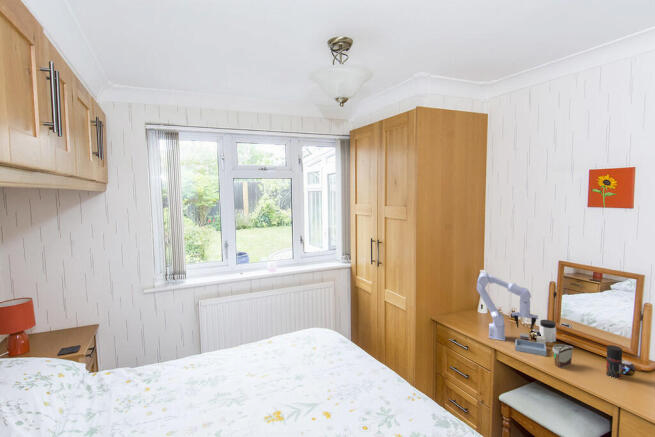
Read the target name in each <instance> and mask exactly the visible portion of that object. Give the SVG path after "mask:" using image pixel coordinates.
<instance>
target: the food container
mask: <svg viewBox="0 0 655 437" xmlns="http://www.w3.org/2000/svg"><path fill="white" fill-rule="evenodd" d="M551 351H552V352H553V356H554V365H555V367H557V368H559V369H561V368H565V367H568V366H570V365H572V360H573V359H572V357H573V351H574V347H573V346H571V345H567V344H562V343H561V344H559V343H558V344H554V345H553V347H552V350H551Z"/></svg>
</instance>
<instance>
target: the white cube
mask: <svg viewBox="0 0 655 437" xmlns="http://www.w3.org/2000/svg"><path fill="white" fill-rule="evenodd" d="M536 342H538V343H544V344H545V345H546V342H545V337H543V336H539V335H536Z"/></svg>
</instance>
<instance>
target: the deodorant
mask: <svg viewBox="0 0 655 437" xmlns="http://www.w3.org/2000/svg"><path fill="white" fill-rule="evenodd" d="M622 364H623V349H622V347H620V346H617V345H611V344H610V345H607V346H606V370H605V371H606V375H607V377H610V376H611V377H610V378H612V377H615V378H614V379H616V378H620V377H621V378H622V372H623V371H622V368H623V366H622ZM621 378H620V379H621Z"/></svg>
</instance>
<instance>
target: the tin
mask: <svg viewBox="0 0 655 437" xmlns="http://www.w3.org/2000/svg"><path fill="white" fill-rule="evenodd" d="M519 339H520V340H526V341H530V335H529V333H524V332H520V334H519Z"/></svg>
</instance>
